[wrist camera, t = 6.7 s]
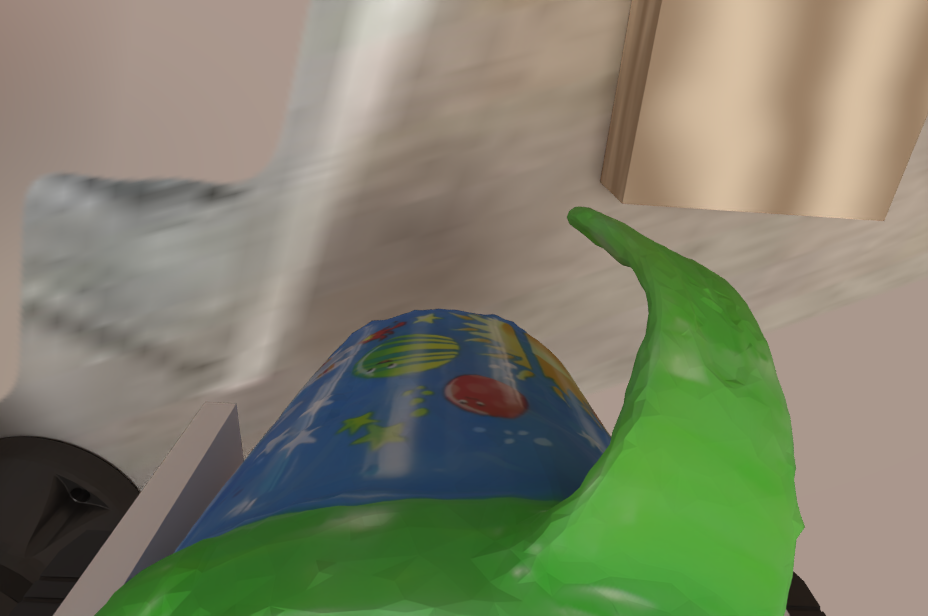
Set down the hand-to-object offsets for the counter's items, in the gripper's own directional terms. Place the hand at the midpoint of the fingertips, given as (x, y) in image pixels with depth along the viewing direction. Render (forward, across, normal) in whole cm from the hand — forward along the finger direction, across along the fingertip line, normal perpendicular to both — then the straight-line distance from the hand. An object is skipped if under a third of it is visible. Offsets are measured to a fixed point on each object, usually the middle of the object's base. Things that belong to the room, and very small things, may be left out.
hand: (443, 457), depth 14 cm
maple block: (+22, -16, -10) cm, 29 cm away
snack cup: (+2, 0, 0) cm, 2 cm away
